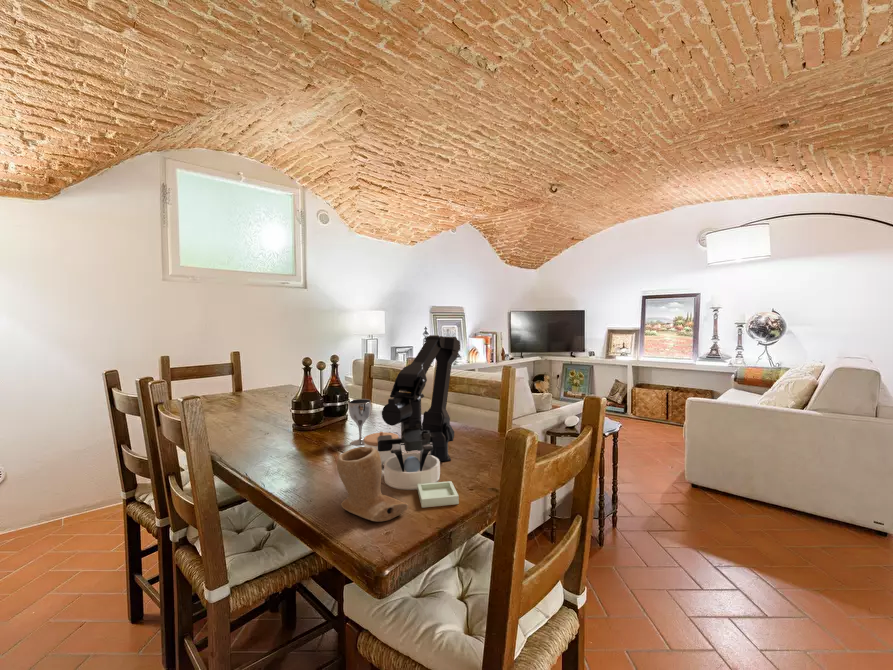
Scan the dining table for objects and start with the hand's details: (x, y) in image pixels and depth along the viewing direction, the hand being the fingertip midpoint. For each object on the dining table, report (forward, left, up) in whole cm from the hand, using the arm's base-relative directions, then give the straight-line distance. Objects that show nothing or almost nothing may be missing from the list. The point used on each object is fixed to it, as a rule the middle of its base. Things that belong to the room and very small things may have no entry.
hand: (412, 471), depth 116 cm
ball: (0, 0, +2) cm, 2 cm away
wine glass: (-36, -15, -2) cm, 39 cm away
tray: (+14, +5, -2) cm, 15 cm away
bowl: (0, 0, -2) cm, 2 cm away
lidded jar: (-15, -8, -2) cm, 17 cm away
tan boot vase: (+18, -12, -2) cm, 22 cm away
